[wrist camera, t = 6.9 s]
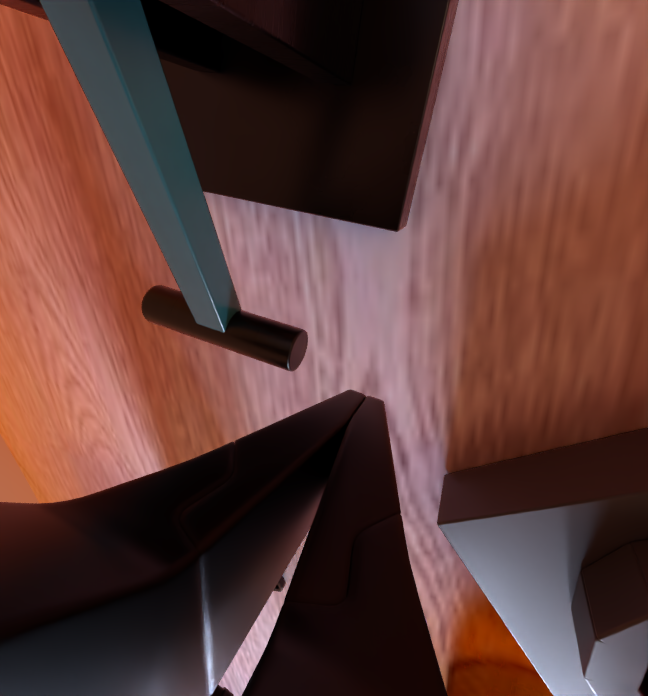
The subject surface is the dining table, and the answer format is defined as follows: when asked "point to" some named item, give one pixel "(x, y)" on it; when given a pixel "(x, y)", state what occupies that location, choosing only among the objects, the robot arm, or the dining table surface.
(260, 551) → the robot arm
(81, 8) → the lever
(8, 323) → the dining table surface
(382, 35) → the bracket
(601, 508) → the button box
